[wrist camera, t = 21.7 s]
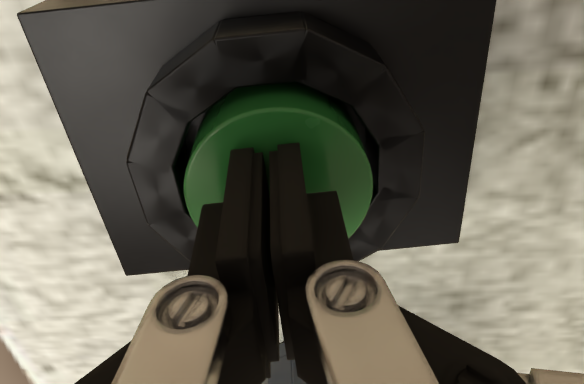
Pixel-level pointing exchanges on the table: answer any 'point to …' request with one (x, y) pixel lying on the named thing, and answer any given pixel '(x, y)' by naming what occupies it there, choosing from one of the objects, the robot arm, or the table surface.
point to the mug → (283, 370)
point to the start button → (282, 130)
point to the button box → (255, 72)
